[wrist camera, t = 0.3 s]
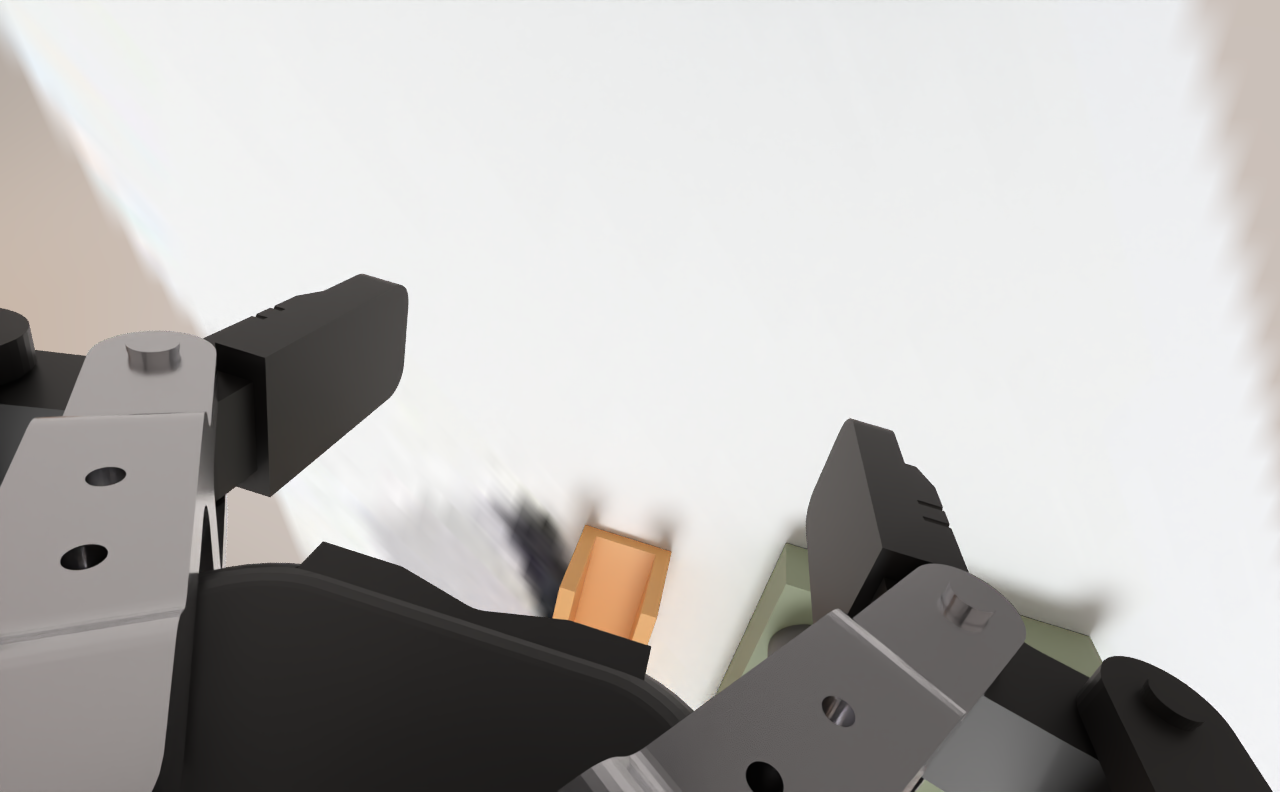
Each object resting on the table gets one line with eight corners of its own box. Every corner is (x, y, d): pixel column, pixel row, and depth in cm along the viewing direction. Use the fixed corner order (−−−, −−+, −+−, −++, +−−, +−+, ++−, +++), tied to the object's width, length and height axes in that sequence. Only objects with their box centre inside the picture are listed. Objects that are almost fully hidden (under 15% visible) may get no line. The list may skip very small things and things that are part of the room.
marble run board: (786, 543, 35) (785, 632, 29) (1089, 636, 34) (1144, 745, 29) (703, 721, 43) (692, 815, 38) (946, 800, 42) (969, 908, 37)
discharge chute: (586, 522, 37) (559, 587, 33) (672, 549, 37) (656, 617, 32) (548, 677, 44) (522, 746, 40) (620, 700, 44) (601, 773, 39)
